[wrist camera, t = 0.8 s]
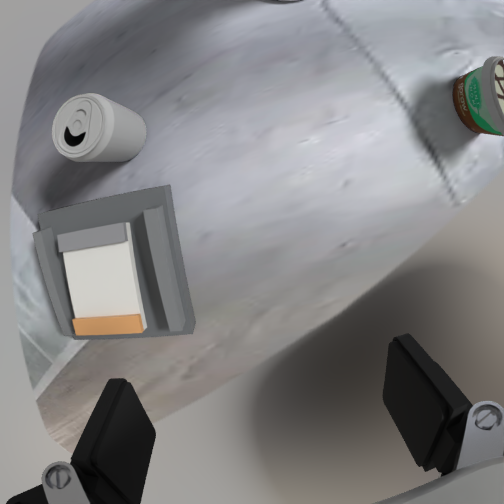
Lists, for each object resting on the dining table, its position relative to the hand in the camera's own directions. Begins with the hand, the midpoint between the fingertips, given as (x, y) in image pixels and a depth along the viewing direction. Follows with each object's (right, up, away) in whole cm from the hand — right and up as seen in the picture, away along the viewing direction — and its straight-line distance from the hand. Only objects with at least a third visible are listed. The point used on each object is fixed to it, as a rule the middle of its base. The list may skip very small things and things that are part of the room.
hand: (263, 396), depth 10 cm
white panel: (-18, +2, +22) cm, 28 cm away
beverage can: (-16, +19, +23) cm, 34 cm away
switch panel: (-18, +3, +27) cm, 32 cm away
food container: (+31, +27, +23) cm, 47 cm away
